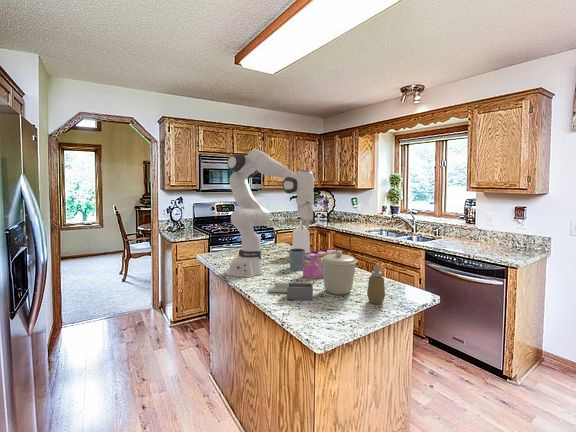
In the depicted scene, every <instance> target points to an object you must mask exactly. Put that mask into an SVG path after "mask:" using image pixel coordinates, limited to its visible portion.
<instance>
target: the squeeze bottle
mask: <svg viewBox="0 0 576 432" xmlns="http://www.w3.org/2000/svg"><path fill="white" fill-rule="evenodd" d="M385 287H386V286H385V278H384V276H383V272H382V271H380V266H379V264H378V263H376V264H375V267H374V270H372V271H371V274H370V276H369V277H368V284H367V292H366V294H367V295H366V296H367V298H368V302H369V303H370V304H372V305H382V304H383V302H384V300H385V297H386V291H385Z"/></svg>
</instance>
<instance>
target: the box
mask: <svg viewBox="0 0 576 432" xmlns="http://www.w3.org/2000/svg"><path fill="white" fill-rule="evenodd" d="M313 294H314V286H313V283H312V282H311V283H309V282H307V283H306V282H291V283H288V285H287V293H286V300H288V301H313V299H314V295H313Z"/></svg>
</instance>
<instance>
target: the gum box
mask: <svg viewBox="0 0 576 432" xmlns="http://www.w3.org/2000/svg"><path fill="white" fill-rule="evenodd" d="M336 251H337V250H334V249H333V248H325V249H321V250H314V251H310V252H309V253H303V270H302V276H303V277H306V278H308V279H310V280H312V279H316V278H317V279H318V278H321V277H323V269H322V261H321V258H322V257H324V256H326V255H331V254H335V252H336Z"/></svg>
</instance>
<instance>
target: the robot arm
mask: <svg viewBox="0 0 576 432" xmlns="http://www.w3.org/2000/svg"><path fill="white" fill-rule="evenodd" d="M226 165H227V168H228V170H230V171H231V172H233V173H232V174H231V175H230V176H229V185H230V189H231V192H232V196H233V198H234V200H235V203H236V204H237V205H238V206H239V207H241V208H239V209H237V210H233V211H232V212H231V216H230V221H231V224H232V225H233V226H234V227H235V228H236V229H237V230H238V232H239V233H240V237H241V248H239V251H238V256H236V257H235V258H234V259H233V260H232V261H231V262H230V264H229V267H228V269H226V270H225V271H224V272H225V275H226V276H233V277H244V278H245V277H246V278H250V277H255V276H259V275H262V274H263V273H264V270H263V266H262V257H263V256H262V249H261V246H262V245H261V241H262V240H261V236H260V234H258V233H257V232H255V230H254V227H261V226H264V225H267V224H268V223H269V222H270V220H271V213H270V211H269V210H268V208H265V207H264V206H262V205H261V204H260V203H259V201H257V198H255V196H254V194H253V192H252V189H251V187H250V183H249V181H248V179H252V178H253V176H255V175H256V174H258V173H260V174H261V175H264V176H267V177H268V176H269V177H275V178H276V177H277V178H281V179H283V181H282V190H283V191H284V192H285V193H286V194H289V195H296V204H297V215H298V217H300V221H301V225H302V226H303V227H304V226H305V227H306V228H307V229H310V224H311V221H313V220H314V207H313V205H314V203H315V200H314V199H315V194H314V193H315V192H314V188H315V176H314V173H313V171H311V170H307V169H299V170H298V171H297V172H296V171H294V170H292V169H290V168H289V167H287V166H284V165H283V164H282V163H280V162H279V161H277V160H276V159H274V157H272V156H270V155H269V154H268V153H266V152H264V151H262V150H260V149H256V148H254V149H251V150H250V151H249V152H248V153H247V154H246V155H244V154H243V153H239V154H238V153H234V154H232V155H230V156H229V157H228V159H227V162H226Z"/></svg>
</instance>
